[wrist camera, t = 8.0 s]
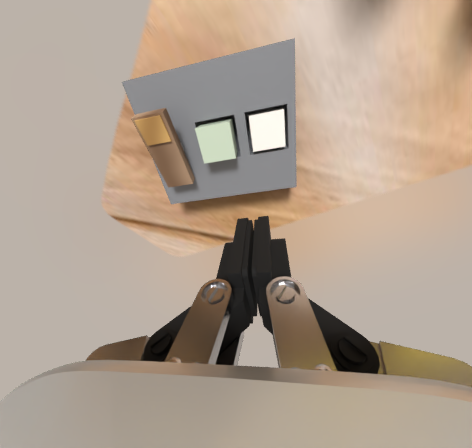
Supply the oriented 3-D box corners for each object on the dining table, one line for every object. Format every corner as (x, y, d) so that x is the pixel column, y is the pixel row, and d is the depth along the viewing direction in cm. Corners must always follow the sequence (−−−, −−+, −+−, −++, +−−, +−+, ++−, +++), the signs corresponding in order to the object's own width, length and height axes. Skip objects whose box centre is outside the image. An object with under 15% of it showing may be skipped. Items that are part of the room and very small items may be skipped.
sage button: (232, 118, 22) (229, 121, 19) (237, 151, 24) (235, 158, 21) (201, 124, 22) (194, 128, 20) (209, 156, 24) (204, 163, 22)
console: (287, 47, 20) (296, 35, 16) (291, 175, 28) (297, 190, 24) (140, 83, 23) (115, 81, 19) (179, 192, 30) (168, 207, 26)
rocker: (166, 107, 18) (161, 112, 18) (194, 178, 24) (192, 184, 23) (135, 114, 19) (130, 119, 18) (170, 181, 25) (168, 188, 24)
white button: (280, 107, 22) (284, 109, 20) (281, 140, 24) (285, 146, 21) (249, 113, 23) (248, 116, 20) (253, 145, 25) (253, 151, 22)
